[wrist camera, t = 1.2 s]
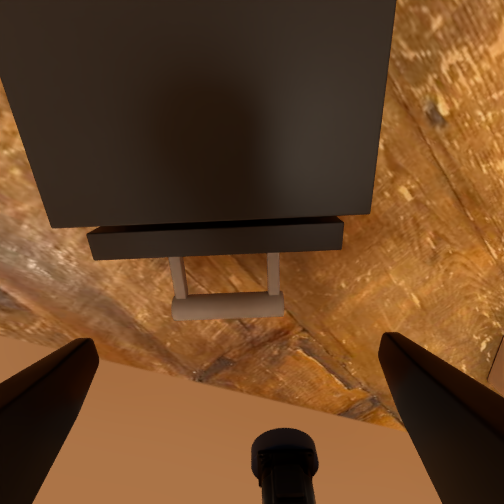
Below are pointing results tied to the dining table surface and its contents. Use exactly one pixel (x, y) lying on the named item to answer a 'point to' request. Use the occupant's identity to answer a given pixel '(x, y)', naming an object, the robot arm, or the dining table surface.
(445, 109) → the dining table surface
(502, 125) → the dining table surface
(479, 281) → the dining table surface
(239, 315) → the dark brown drawer
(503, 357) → the control block
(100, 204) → the drawer cabinet
